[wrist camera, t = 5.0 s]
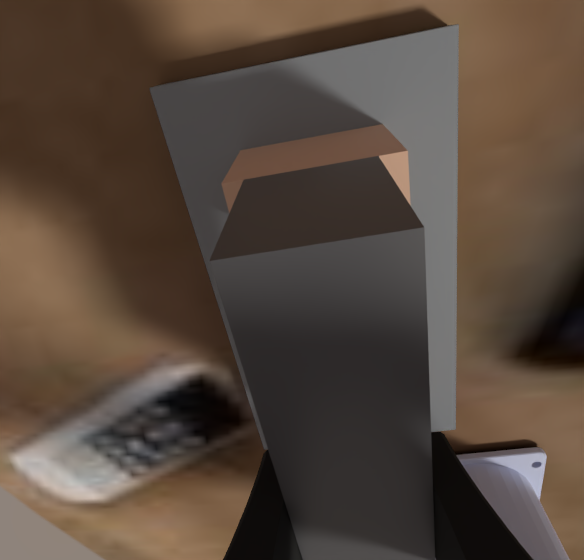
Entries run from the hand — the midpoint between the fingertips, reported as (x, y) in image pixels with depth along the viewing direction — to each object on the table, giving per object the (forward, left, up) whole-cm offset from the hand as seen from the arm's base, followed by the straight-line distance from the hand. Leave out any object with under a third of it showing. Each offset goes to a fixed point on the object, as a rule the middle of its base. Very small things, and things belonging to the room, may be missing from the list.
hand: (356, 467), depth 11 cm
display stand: (0, 0, -9) cm, 9 cm away
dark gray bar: (0, 0, -2) cm, 2 cm away
